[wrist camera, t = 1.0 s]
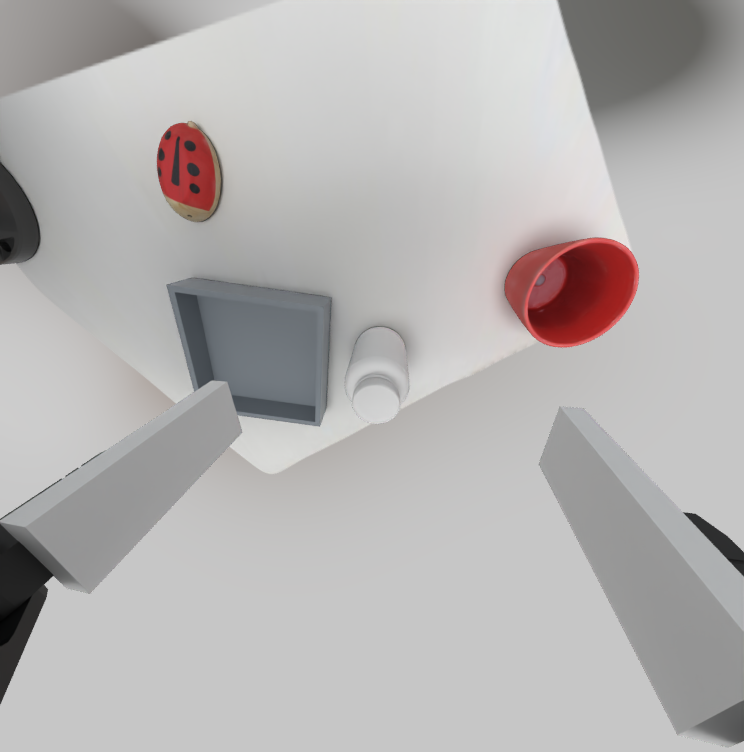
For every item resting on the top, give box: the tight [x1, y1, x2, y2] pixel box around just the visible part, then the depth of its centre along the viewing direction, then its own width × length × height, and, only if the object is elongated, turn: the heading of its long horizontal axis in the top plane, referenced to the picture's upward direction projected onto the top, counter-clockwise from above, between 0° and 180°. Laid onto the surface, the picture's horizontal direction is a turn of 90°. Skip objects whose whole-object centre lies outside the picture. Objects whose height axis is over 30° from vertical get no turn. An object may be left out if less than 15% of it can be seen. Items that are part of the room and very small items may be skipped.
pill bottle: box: [345, 327, 409, 424], centre depth 35 cm, size 8×8×15 cm
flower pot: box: [505, 238, 639, 347], centre depth 31 cm, size 11×11×10 cm
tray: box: [167, 278, 331, 426], centre depth 41 cm, size 20×20×5 cm
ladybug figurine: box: [157, 121, 221, 222], centre depth 30 cm, size 7×10×4 cm
